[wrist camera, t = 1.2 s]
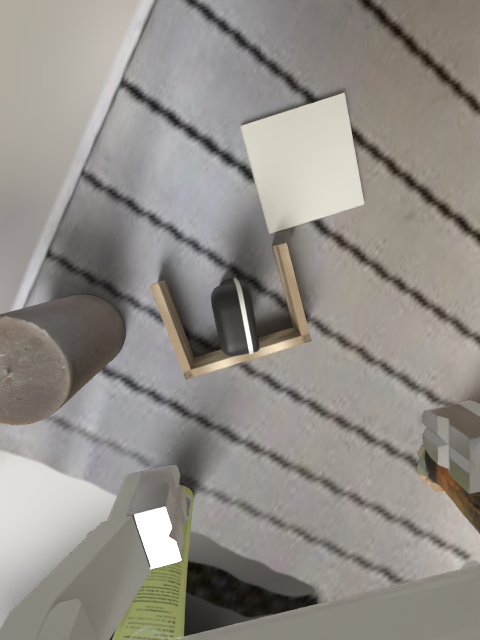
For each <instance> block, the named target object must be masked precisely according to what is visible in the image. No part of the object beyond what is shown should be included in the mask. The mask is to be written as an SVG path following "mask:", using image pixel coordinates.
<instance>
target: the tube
mask: <svg viewBox="0 0 480 640" xmlns="http://www.w3.org/2000/svg"><path fill="white" fill-rule="evenodd" d="M182 486H183V487H184V491H185V495H186V502H187V516H186V522H185V524H184V525H183V527H182V530H183V534H184V543H183V551H182V560H181V561H178V562H174V563H171V564H167V565H163V566H159V567H156V568H152V569H150V570H151V571H150V573H149V575H148V576H147V578H146V580H145V581H144V583H143V585H142V586H141V588H140V590H139V591H138V593H137V595H136V596H135V598H134V600H133V601H132V603H131V604H130V606H129V608H128V609H127V611H126V613H125V614H124V616H123V618H122V619H121V621H120V623H119V624H118V626H117V629H116V632H115V634H114V637H113V639H112V640H173V639H177V638H181V637H184V614H185V595H186V578H187V564H188V551H189V539H190V528H191V519H192V509H193V499H194V497H193V493H192V491H191V490H190V489H189V488H188V487H186V486H184V485H182Z"/></svg>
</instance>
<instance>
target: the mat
mask: <svg viewBox="0 0 480 640" xmlns="http://www.w3.org/2000/svg"><path fill="white" fill-rule="evenodd" d="M241 132H242V136H243V139H244V143H245V147H246V151H247V154H248V158H249V162H250V166H251V170H252V173H253V177H254V181H255V185H256V188H257V192H258V196H259V200H260V203H261V207H262V211H263V215H264V219H265V222H266V226H267V230H268V234H271V233H274V232H277V231H281V230H284V229H287V228H290V227H293V226H297V225H300V224H303V223H306V222H309V221H312V220H316V219H319V218H322V217H325V216H328V215H332V214H335V213H338V212H341V211H344V210H347V209H351V208H354V207H357V206H360V205H363V204H364V200H363V194H362V188H361V183H360V177H359V171H358V166H357V160H356V154H355V149H354V143H353V137H352V132H351V126H350V120H349V115H348V109H347V104H346V98H345V93H342V94H339V95H336V96H333V97H329V98H326V99H323V100H320V101H317V102H314V103H311V104H308V105H304V106H301V107H298V108H295V109H292V110H289V111H286V112H283V113H279V114H276V115H273V116H270V117H267V118H264V119H261V120H258V121H254V122H251V123H248V124H245V125H242V126H241Z"/></svg>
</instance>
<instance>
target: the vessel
mask: <svg viewBox="0 0 480 640" xmlns="http://www.w3.org/2000/svg"><path fill="white" fill-rule="evenodd" d="M418 456H419V462H418V466H417V473H418V474H419V475H420V477H421V478H422V479H424V478H427V482H426V484H428V485H431V486H432V488H433V489H434V490H435V491H445V492H446V493H447V495H448V496H449V497H450V498H451V499H452V501H453V502H454V503H455V505H456V506H457V507H458V508H459V510H460V511H461V512H462V514H463V515H464V516H465V517H466V518H467V519H468V521H469V522H470V523H471V524H472V525H473V526H474V527H475V529H476V530H477V531H478V532H479V533H480V492H476V493H471V494H469V493H468V492H467V491H466V490H465V489H464V488H463V487H462V486H460V485H459V484H458V483H457V482H456V481H455V480H454V479H453V478H452V477H451V476H450V473H449V469H447V468H445V467H442V466H440V465H438V464H437V463H436V462H435V461H434V460H433V459H432V458H431V457H430V456H429V454H428V453H427V451H426V449H425V446H424V445H423V446H422V447H421V448H420V451H418Z"/></svg>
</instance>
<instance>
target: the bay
mask: <svg viewBox="0 0 480 640" xmlns="http://www.w3.org/2000/svg"><path fill="white" fill-rule="evenodd" d="M272 249H273V252H274V256H275V260H276V264H277V268H278V271H279V275H280V279H281V283H282V286H283V290H284V294H285V298H286V301H287V305H288V309H289V313H290V317H291V320H292V324H293V327H292V328H289V329H286V330H282V331H279V332H276V333H273V334H270V335H266V336H263V337H260V338H258V340H259V347H260V349H259V351H258V352H254V353H253V354H244V355H239V356H227V355H226V354H224V352H223V351H222V349H221V350H218V351H214V352H211V353H208V354H205V355H202V356H198V357H195V358H194V356H193V353H192V350H191V348H190V345H189V342H188V340H187V337H186V334H185V331H184V329H183V326H182V323H181V321H180V318H179V315H178V313H177V310H176V307H175V304H174V302H173V299H172V296H171V294H170V291H169V288H168V286H167V283H166V280H163V281H159V282H157V283H154V284H152V285H150V288H151V291H152V293H153V296H154V298H155V301H156V304H157V306H158V309H159V311H160V314H161V317H162V319H163V322H164V324H165V327H166V329H167V332H168V335H169V337H170V340H171V342H172V345H173V348H174V350H175V353H176V355H177V358H178V360H179V363H180V366H181V368H182V371H183V373H184V376H185V379H189V378H192V377H196V376H199V375H202V374H205V373H209V372H212V371H215V370H218V369H222V368H225V367H228V366H231V365H235V364H238V363H241V362H244V361H248V360H251V359H254V358H257V357H261V356H264V355H267V354H270V353H274V352H277V351H280V350H283V349H287V348H290V347H293V346H296V345H300V344H303V343H306V342H309V341H311V338H310V334H309V330H308V326H307V322H306V318H305V314H304V310H303V306H302V302H301V298H300V294H299V290H298V286H297V282H296V278H295V274H294V270H293V266H292V262H291V258H290V254H289V250H288V246H287V243H282V244H277V245H274V246H272Z"/></svg>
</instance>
